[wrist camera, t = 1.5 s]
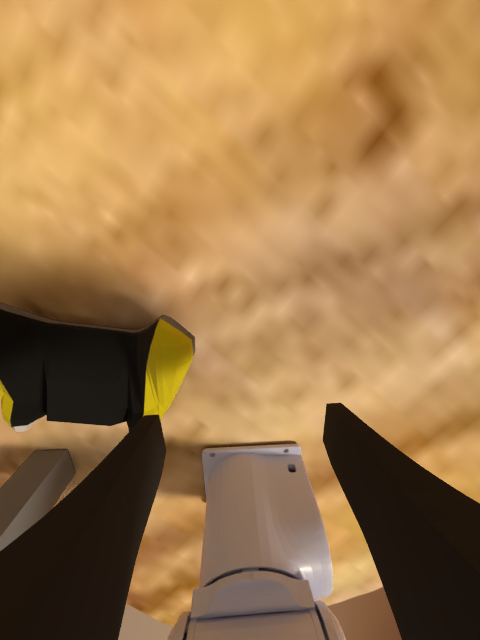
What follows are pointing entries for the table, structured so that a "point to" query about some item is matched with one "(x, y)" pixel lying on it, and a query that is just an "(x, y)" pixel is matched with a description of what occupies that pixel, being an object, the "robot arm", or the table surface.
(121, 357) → the black yellow sneaker
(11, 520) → the posts
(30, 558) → the robot arm
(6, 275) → the table surface
